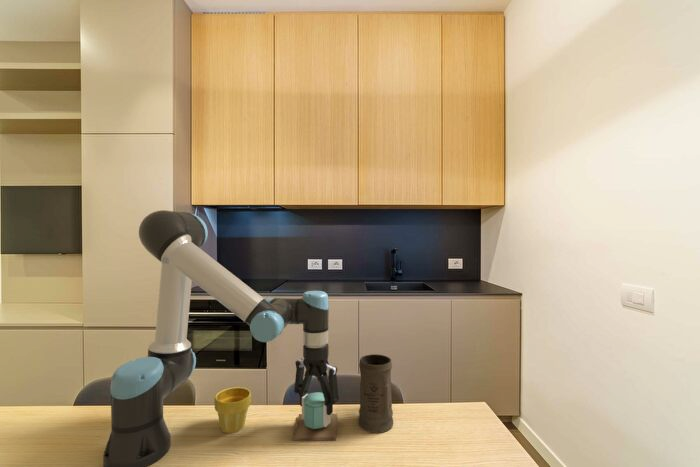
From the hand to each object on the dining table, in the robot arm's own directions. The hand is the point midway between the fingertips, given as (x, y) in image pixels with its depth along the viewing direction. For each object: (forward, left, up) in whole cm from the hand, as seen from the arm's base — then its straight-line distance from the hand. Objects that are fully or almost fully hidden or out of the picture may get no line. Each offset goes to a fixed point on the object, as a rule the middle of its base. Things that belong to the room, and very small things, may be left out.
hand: (316, 420), depth 101 cm
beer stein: (+18, +5, -2) cm, 19 cm away
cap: (0, 0, 0) cm, 0 cm away
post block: (0, 0, -2) cm, 2 cm away
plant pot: (-25, +1, -2) cm, 25 cm away
